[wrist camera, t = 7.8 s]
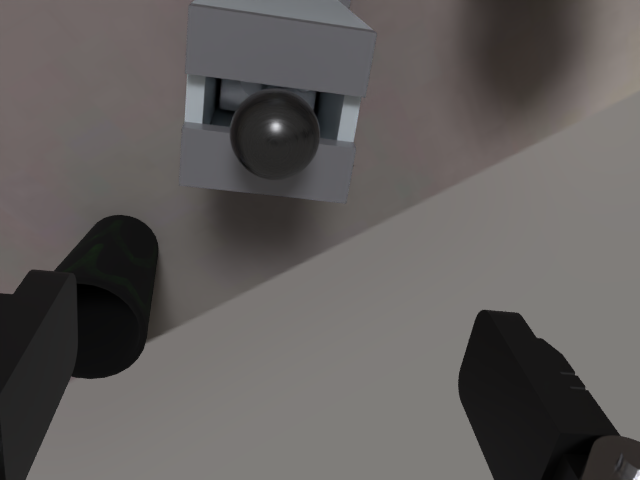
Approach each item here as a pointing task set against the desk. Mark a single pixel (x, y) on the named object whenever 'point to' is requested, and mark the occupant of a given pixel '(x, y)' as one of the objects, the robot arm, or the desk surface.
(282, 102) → the plunger
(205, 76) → the slotted square pillar
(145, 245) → the cup
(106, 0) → the desk surface
